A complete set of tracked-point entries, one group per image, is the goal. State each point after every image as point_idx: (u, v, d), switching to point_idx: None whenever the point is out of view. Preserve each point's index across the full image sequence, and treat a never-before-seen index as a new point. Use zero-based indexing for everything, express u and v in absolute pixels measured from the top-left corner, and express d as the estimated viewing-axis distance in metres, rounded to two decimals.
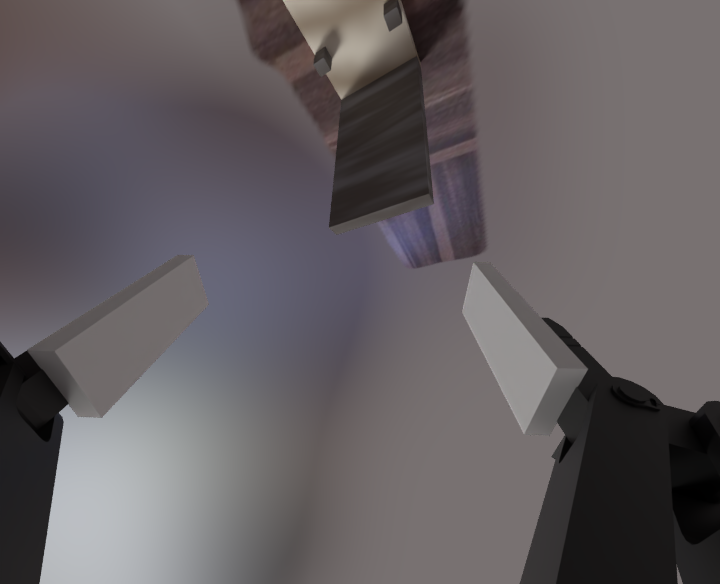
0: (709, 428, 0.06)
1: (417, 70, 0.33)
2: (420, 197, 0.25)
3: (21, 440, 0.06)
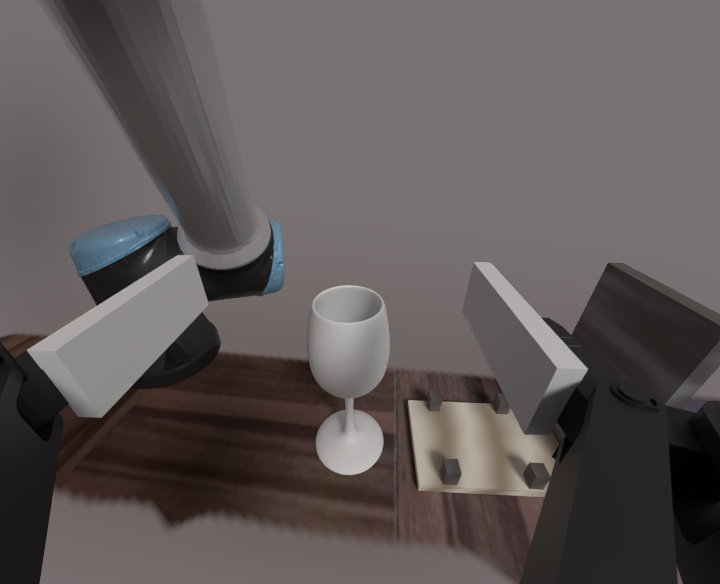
0: (709, 428, 0.06)
1: None
2: (616, 266, 0.27)
3: (21, 440, 0.06)
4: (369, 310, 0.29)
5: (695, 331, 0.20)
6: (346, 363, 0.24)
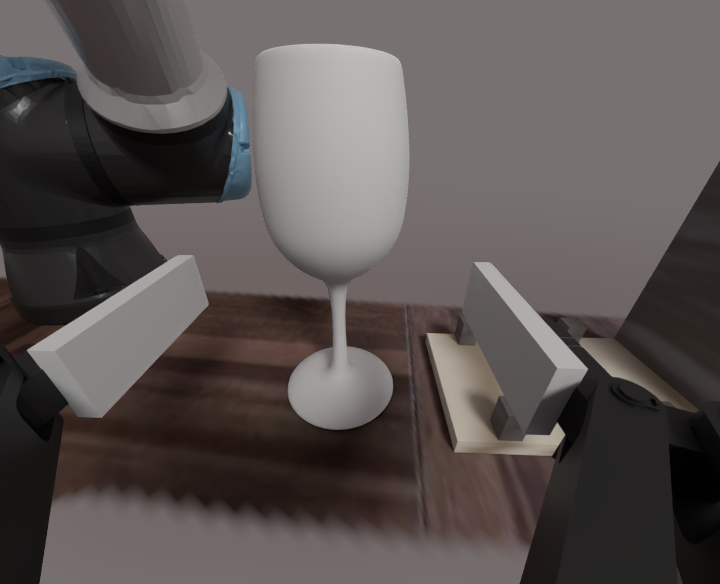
0: (709, 428, 0.06)
1: (630, 313, 0.25)
2: None
3: (21, 440, 0.06)
4: None
5: None
6: (323, 155, 0.11)
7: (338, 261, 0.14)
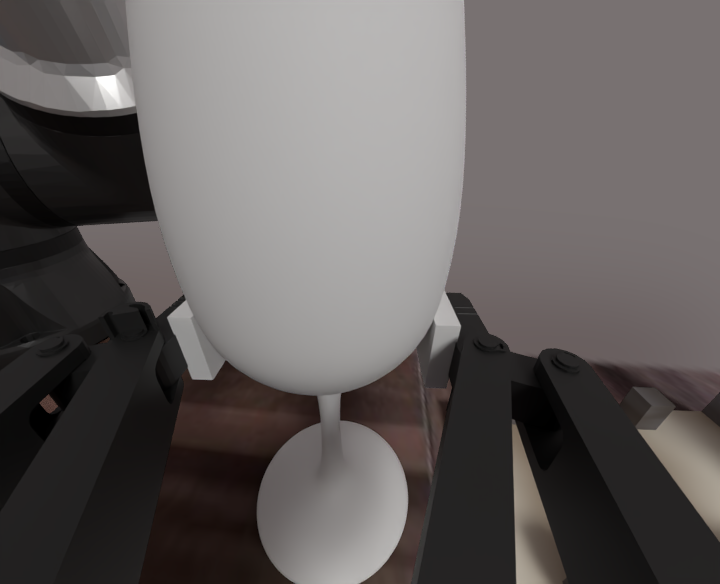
0: (544, 372, 0.07)
1: None
2: None
3: (154, 401, 0.07)
4: None
5: None
6: (280, 201, 0.04)
7: (323, 388, 0.07)
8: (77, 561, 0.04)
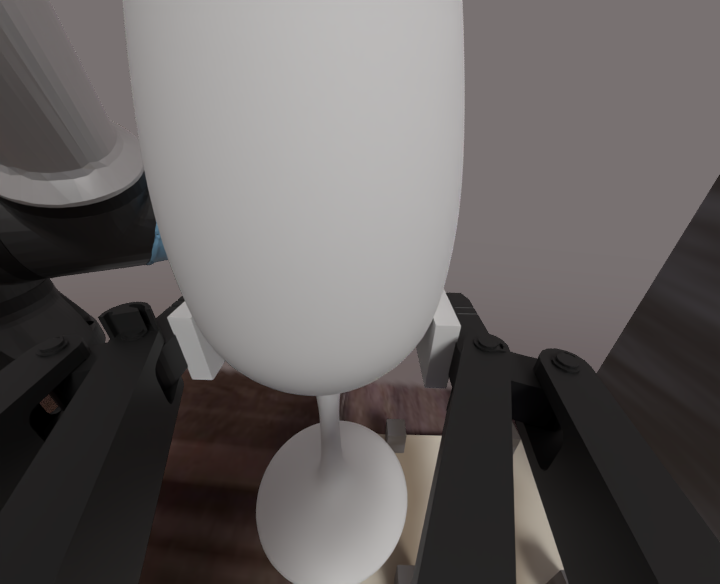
0: (544, 372, 0.07)
1: None
2: None
3: (154, 401, 0.07)
4: None
5: None
6: (277, 201, 0.04)
7: (322, 389, 0.07)
8: (77, 561, 0.04)
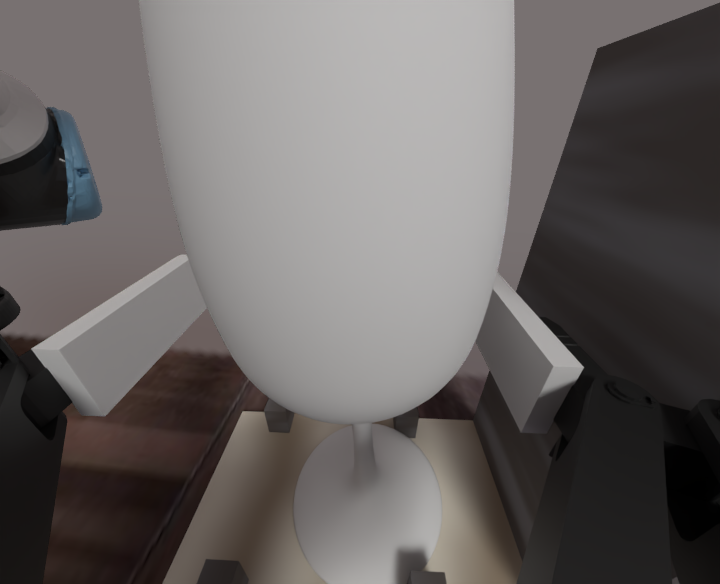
0: (703, 426, 0.06)
1: (482, 395, 0.20)
2: (619, 42, 0.10)
3: (25, 438, 0.06)
4: None
5: None
6: (324, 253, 0.04)
7: (365, 421, 0.07)
8: None
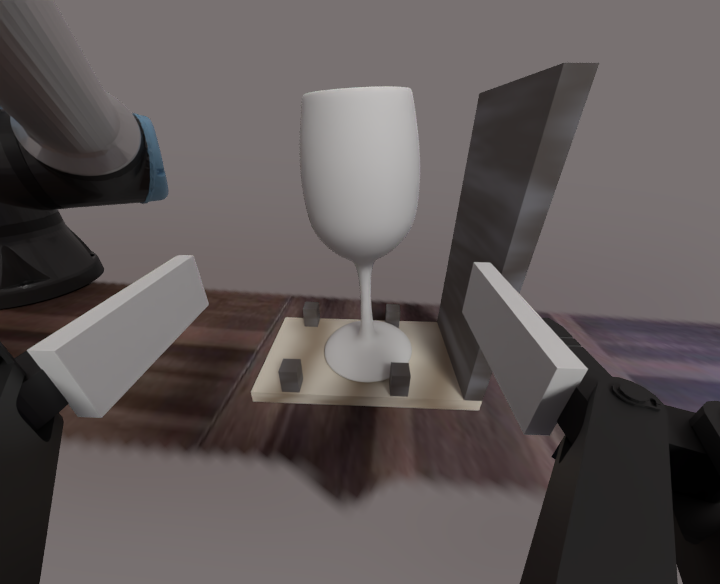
0: (709, 428, 0.06)
1: (441, 301, 0.31)
2: (485, 92, 0.21)
3: (21, 440, 0.06)
4: None
5: (537, 100, 0.14)
6: (357, 167, 0.15)
7: (368, 244, 0.18)
8: None
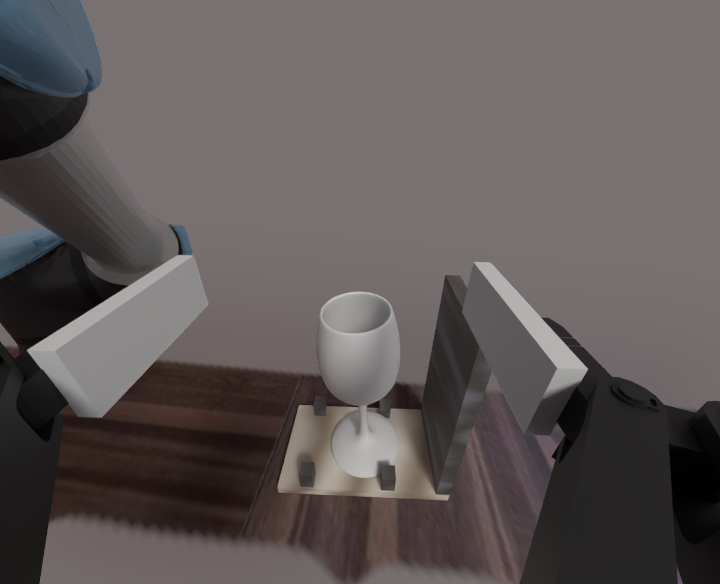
0: (709, 428, 0.06)
1: (423, 396, 0.39)
2: (449, 278, 0.29)
3: (21, 440, 0.06)
4: (378, 315, 0.29)
5: (470, 342, 0.22)
6: (356, 372, 0.23)
7: (364, 404, 0.26)
8: None
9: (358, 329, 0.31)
